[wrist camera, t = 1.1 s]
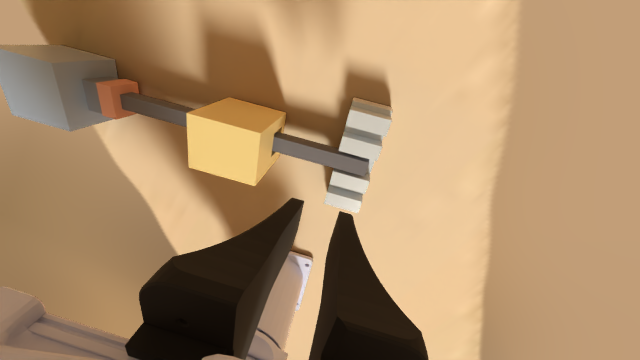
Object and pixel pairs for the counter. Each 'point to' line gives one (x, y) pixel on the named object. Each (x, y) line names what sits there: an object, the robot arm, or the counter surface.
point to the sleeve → (233, 139)
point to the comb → (359, 152)
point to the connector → (54, 84)
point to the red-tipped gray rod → (126, 101)
